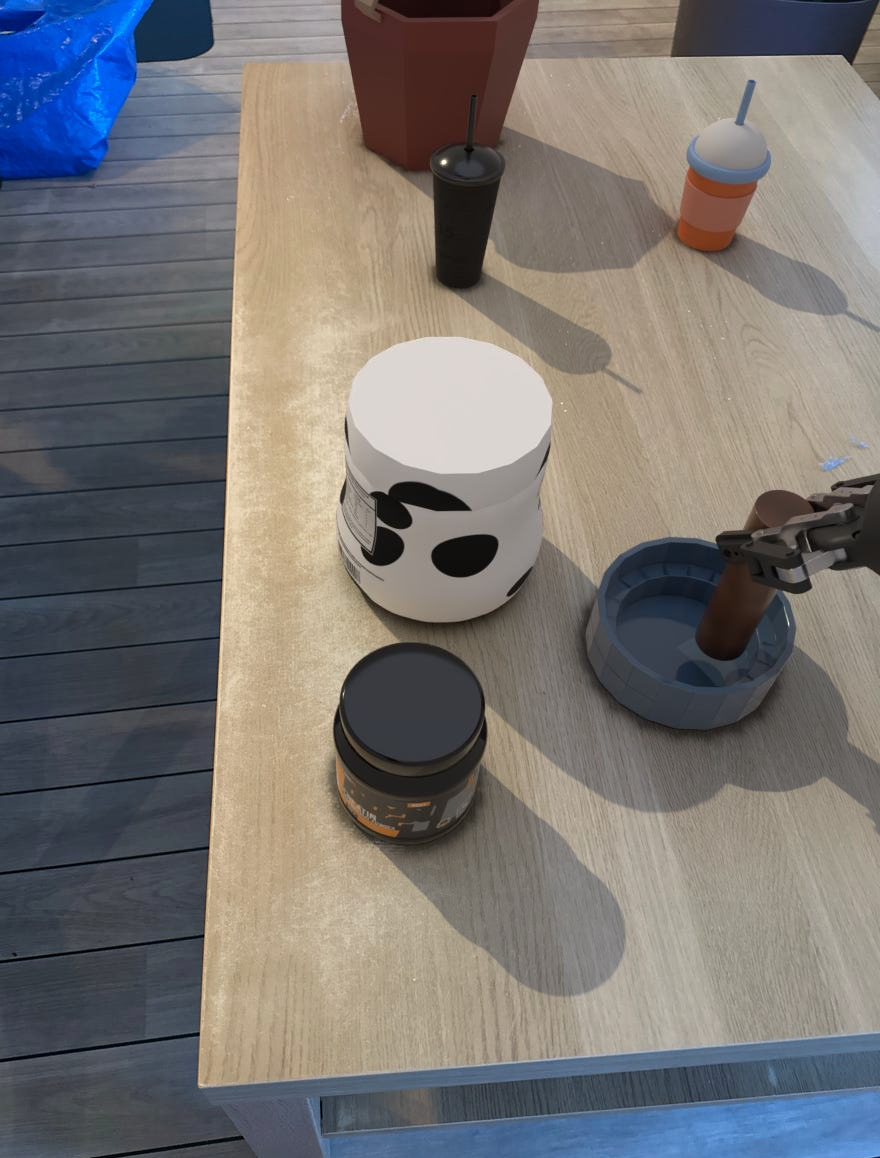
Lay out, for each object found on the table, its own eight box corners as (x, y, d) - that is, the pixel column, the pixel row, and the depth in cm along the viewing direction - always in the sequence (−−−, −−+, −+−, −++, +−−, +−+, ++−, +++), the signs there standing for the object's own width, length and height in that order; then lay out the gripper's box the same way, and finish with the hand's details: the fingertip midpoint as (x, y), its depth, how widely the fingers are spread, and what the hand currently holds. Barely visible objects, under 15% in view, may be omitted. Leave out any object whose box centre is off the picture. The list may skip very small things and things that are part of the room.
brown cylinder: (707, 612, 80) (768, 480, 68) (753, 635, 79) (824, 506, 66) (686, 645, 78) (745, 516, 66) (733, 669, 77) (802, 543, 64)
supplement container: (307, 771, 74) (299, 685, 65) (417, 700, 78) (425, 609, 69) (392, 878, 70) (398, 802, 60) (505, 797, 74) (527, 713, 64)
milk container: (560, 525, 90) (599, 365, 75) (492, 669, 80) (521, 518, 66) (386, 466, 93) (391, 302, 79) (302, 597, 84) (289, 438, 69)
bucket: (464, 84, 137) (482, -137, 117) (561, 159, 126) (599, -69, 106) (308, 127, 129) (298, -102, 108) (397, 211, 118) (405, -25, 98)
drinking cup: (440, 252, 114) (453, 69, 97) (502, 271, 112) (525, 88, 96) (411, 288, 110) (420, 103, 93) (475, 308, 108) (495, 123, 92)
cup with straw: (695, 209, 120) (742, 52, 106) (757, 243, 117) (814, 84, 102) (648, 237, 117) (689, 78, 102) (710, 272, 113) (762, 112, 98)
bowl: (751, 586, 86) (775, 541, 81) (785, 738, 77) (814, 698, 73) (577, 579, 86) (590, 533, 81) (591, 730, 77) (607, 689, 72)
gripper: (1033, 407, 57) (793, 442, 72) (878, 516, 51) (655, 529, 67) (1064, 526, 59) (823, 536, 74) (918, 642, 53) (692, 627, 69)
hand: (744, 533), depth 70 cm, fingers closed on brown cylinder, 4 cm apart
